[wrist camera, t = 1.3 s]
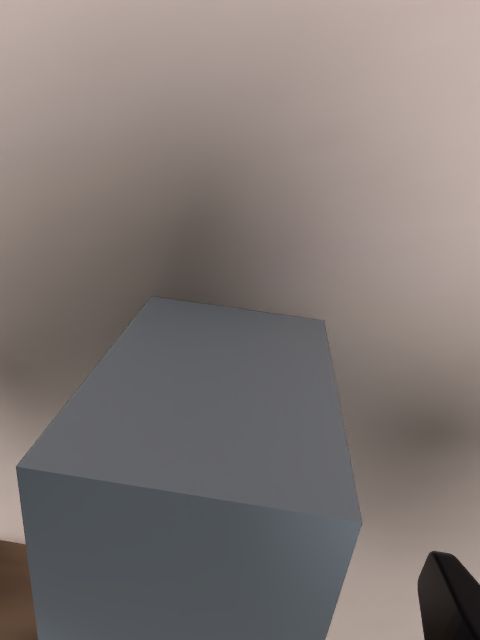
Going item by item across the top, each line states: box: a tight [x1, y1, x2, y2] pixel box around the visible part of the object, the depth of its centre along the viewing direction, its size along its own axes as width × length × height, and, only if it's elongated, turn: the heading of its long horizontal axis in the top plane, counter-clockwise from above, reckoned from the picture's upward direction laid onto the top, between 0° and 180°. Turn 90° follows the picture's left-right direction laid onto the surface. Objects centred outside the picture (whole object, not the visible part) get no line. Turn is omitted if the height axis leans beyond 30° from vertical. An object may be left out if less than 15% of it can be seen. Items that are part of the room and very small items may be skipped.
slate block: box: [16, 296, 362, 640], centre depth 10 cm, size 5×5×7 cm
